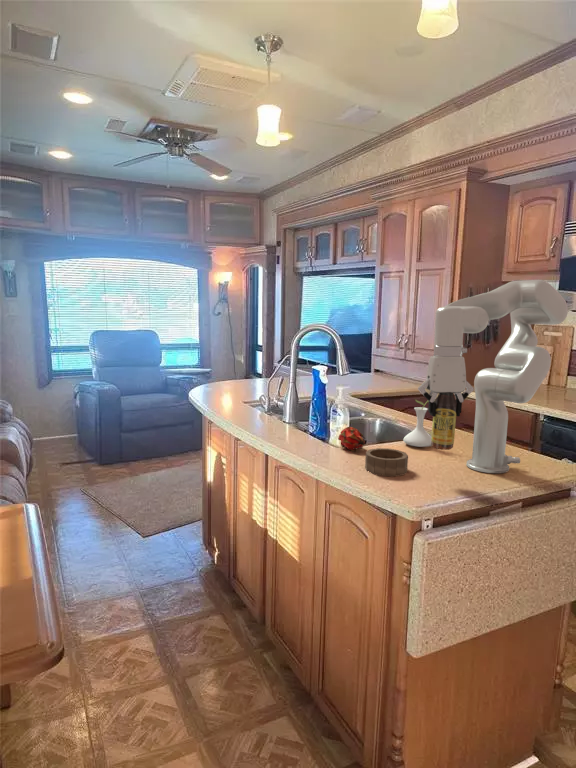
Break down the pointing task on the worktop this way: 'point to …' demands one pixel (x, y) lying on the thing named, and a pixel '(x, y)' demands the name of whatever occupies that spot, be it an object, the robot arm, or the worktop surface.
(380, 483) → the worktop surface
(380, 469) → the bottle holder
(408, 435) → the flower in vase
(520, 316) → the robot arm
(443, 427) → the sauce bottle
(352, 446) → the dragon fruit
